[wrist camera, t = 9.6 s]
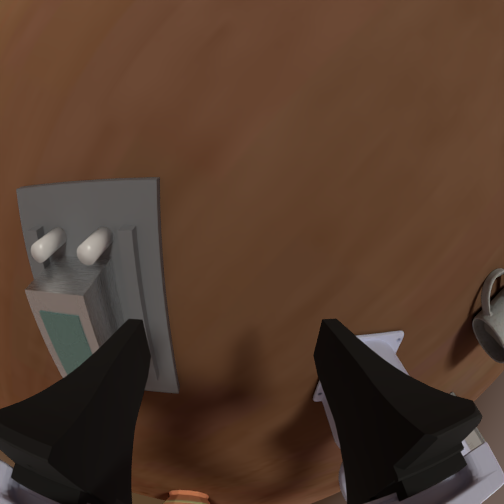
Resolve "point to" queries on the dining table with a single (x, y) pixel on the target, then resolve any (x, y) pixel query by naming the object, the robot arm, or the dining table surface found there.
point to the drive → (75, 308)
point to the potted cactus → (187, 497)
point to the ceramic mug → (491, 320)
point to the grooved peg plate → (108, 249)
